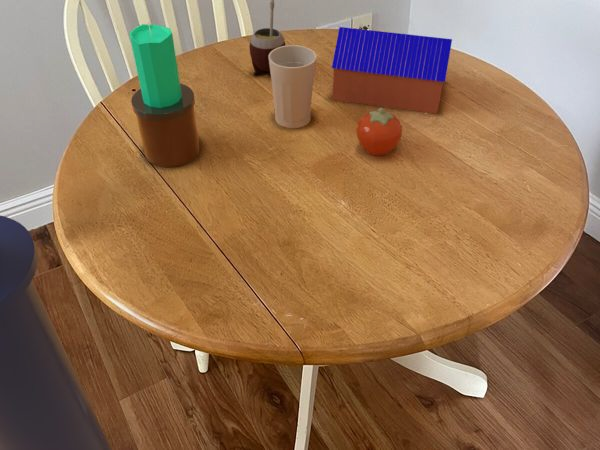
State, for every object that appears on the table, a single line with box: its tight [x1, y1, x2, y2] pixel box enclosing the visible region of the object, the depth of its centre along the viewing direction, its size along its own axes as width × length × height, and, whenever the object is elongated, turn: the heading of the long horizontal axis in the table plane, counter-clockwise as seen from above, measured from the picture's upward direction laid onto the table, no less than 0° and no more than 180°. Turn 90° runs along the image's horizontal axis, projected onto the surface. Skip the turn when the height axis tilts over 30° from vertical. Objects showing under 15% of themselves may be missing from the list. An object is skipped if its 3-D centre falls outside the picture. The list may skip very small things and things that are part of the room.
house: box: [331, 26, 453, 115], centre depth 108 cm, size 12×20×12 cm, turn 76°
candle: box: [128, 22, 182, 108], centre depth 86 cm, size 6×6×12 cm
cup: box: [268, 44, 318, 129], centre depth 101 cm, size 8×8×12 cm
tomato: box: [355, 107, 403, 157], centre depth 95 cm, size 7×7×8 cm
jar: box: [130, 82, 201, 168], centre depth 94 cm, size 10×10×10 cm
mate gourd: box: [249, 0, 287, 77], centre depth 112 cm, size 8×8×15 cm
